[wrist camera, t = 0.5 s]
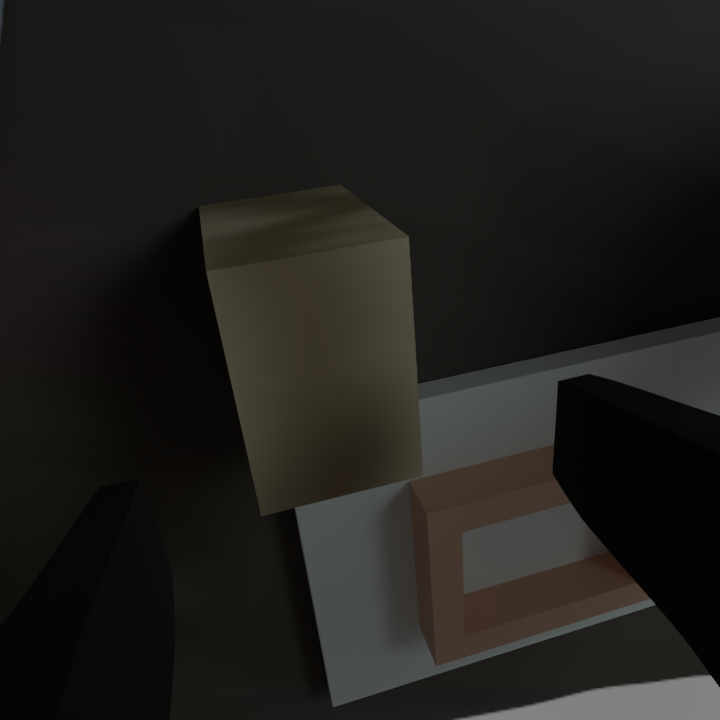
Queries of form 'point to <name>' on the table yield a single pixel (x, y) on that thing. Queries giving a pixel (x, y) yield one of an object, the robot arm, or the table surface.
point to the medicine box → (1, 14)
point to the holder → (482, 522)
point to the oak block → (316, 342)
